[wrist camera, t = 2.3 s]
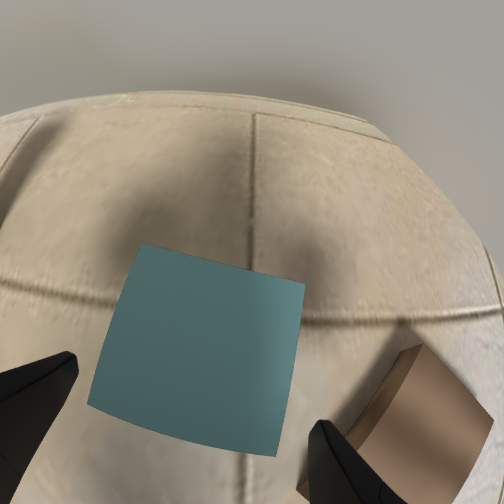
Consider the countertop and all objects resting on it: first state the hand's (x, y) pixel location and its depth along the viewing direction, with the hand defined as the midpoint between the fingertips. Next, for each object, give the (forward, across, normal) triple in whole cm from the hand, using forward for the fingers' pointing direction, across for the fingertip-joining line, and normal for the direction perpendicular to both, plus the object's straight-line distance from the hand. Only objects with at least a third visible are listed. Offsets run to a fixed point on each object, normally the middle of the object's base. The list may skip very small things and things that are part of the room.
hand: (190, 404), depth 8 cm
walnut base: (+4, -18, +9) cm, 20 cm away
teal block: (+8, 0, +6) cm, 9 cm away
